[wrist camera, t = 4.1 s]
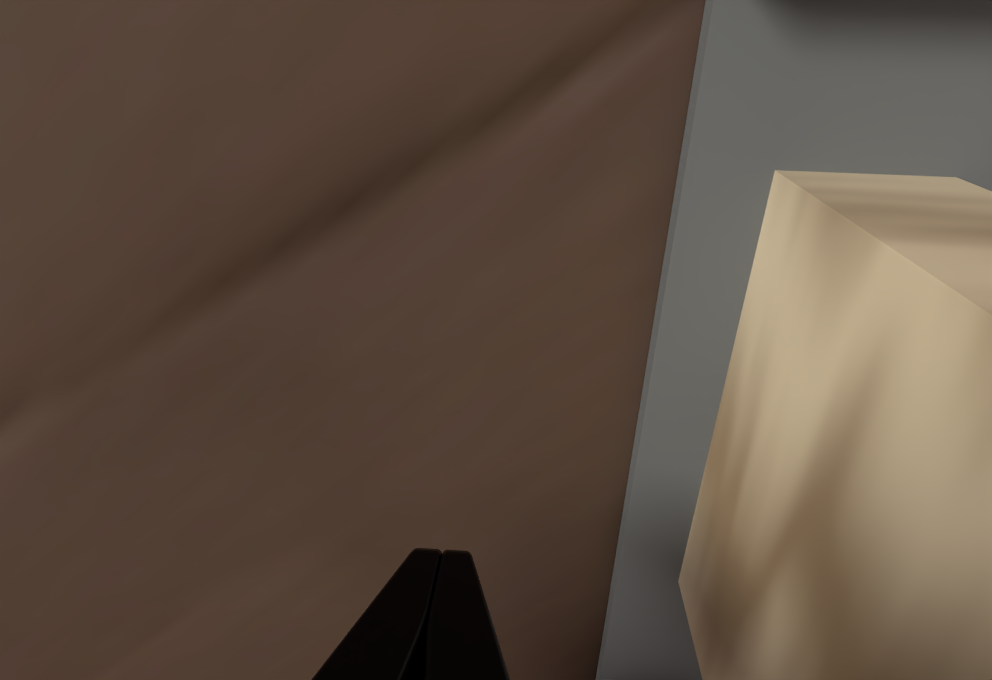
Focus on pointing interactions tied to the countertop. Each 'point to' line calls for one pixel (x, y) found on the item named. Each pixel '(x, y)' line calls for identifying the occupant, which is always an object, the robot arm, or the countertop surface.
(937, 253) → the wooden block
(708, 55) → the mat
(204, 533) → the countertop surface
